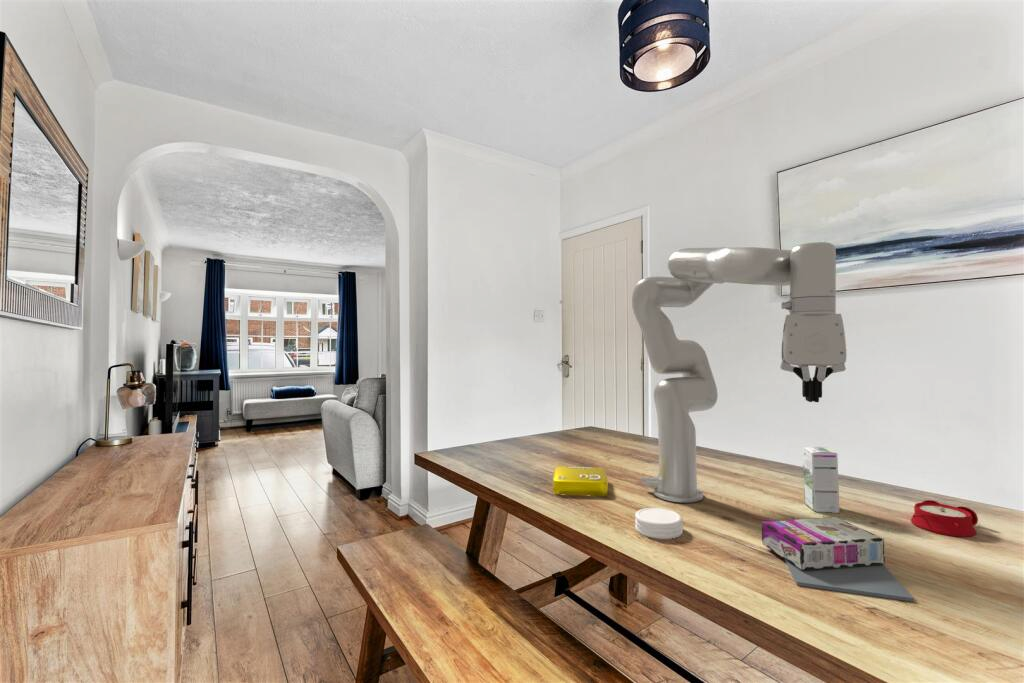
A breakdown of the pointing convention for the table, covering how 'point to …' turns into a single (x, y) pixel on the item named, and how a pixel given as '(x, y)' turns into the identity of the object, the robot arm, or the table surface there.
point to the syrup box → (821, 479)
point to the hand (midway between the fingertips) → (812, 400)
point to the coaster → (658, 523)
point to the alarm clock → (945, 519)
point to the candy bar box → (822, 543)
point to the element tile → (580, 481)
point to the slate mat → (853, 580)
